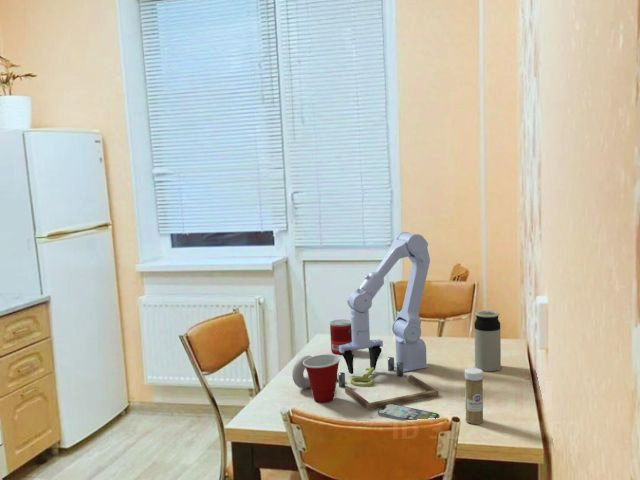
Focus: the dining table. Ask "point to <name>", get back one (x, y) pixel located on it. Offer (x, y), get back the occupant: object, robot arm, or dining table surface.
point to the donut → (300, 373)
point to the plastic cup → (322, 376)
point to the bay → (399, 400)
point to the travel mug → (487, 341)
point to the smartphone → (405, 413)
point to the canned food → (340, 334)
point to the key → (363, 378)
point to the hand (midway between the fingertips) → (362, 371)
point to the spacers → (390, 368)
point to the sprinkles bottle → (474, 395)
